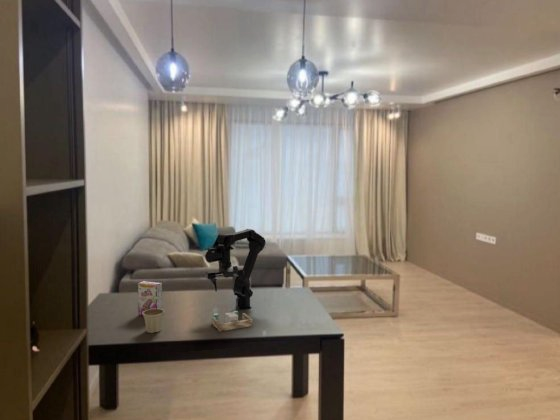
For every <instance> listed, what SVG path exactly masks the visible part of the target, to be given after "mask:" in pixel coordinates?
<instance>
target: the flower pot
mask: <svg viewBox="0 0 560 420" xmlns="http://www.w3.org/2000/svg"><path fill="white" fill-rule="evenodd" d="M164 313H165V310H164V309H163V308H162V309H149V310H145V311H143V313H142V314H143V318H144V323H145V331H146V332H147V333H150V334H154V333H159V332H160V331H162V324H163V316H164Z"/></svg>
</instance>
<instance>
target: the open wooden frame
mask: <svg viewBox="0 0 560 420" xmlns="http://www.w3.org/2000/svg"><path fill="white" fill-rule="evenodd" d="M241 315H242V316H241V317H242V320H238V321H235V322H228V323H226V322H223V323H220V322H219V321H217V320H216V319H215V318H214V317H213V316H212V318H211V321H212V323H211V324H212V325H213V326H214V328H215V327H216V328H217V329H218V330H219V332H223V331H222V330H224V331H228V330H229V329H230V330H236V329H242V328H246V327H247V328H249V327H253V319H252V318H251V316H249V315H248V314H246V313H245V312H242V314H241ZM216 328H215V329H216ZM217 329H216V330H217ZM218 330H217V331H218ZM230 330H229V331H230Z"/></svg>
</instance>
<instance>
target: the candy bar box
mask: <svg viewBox="0 0 560 420" xmlns="http://www.w3.org/2000/svg"><path fill="white" fill-rule="evenodd" d="M162 283H163V282H155V281H147V280H143V281H140V282H138V283H137V301H138V302H137V304H138V305H137V308H138V309H137V310H138V316H143V314H142V313H143V311H145V310H149V309H163V284H162ZM143 317H144V316H143Z"/></svg>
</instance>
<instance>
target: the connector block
mask: <svg viewBox="0 0 560 420" xmlns="http://www.w3.org/2000/svg"><path fill="white" fill-rule="evenodd" d="M235 321H239V314H238V315H237V314H235V313H234V312H233V311H232V312H225V323H228V322H235Z"/></svg>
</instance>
